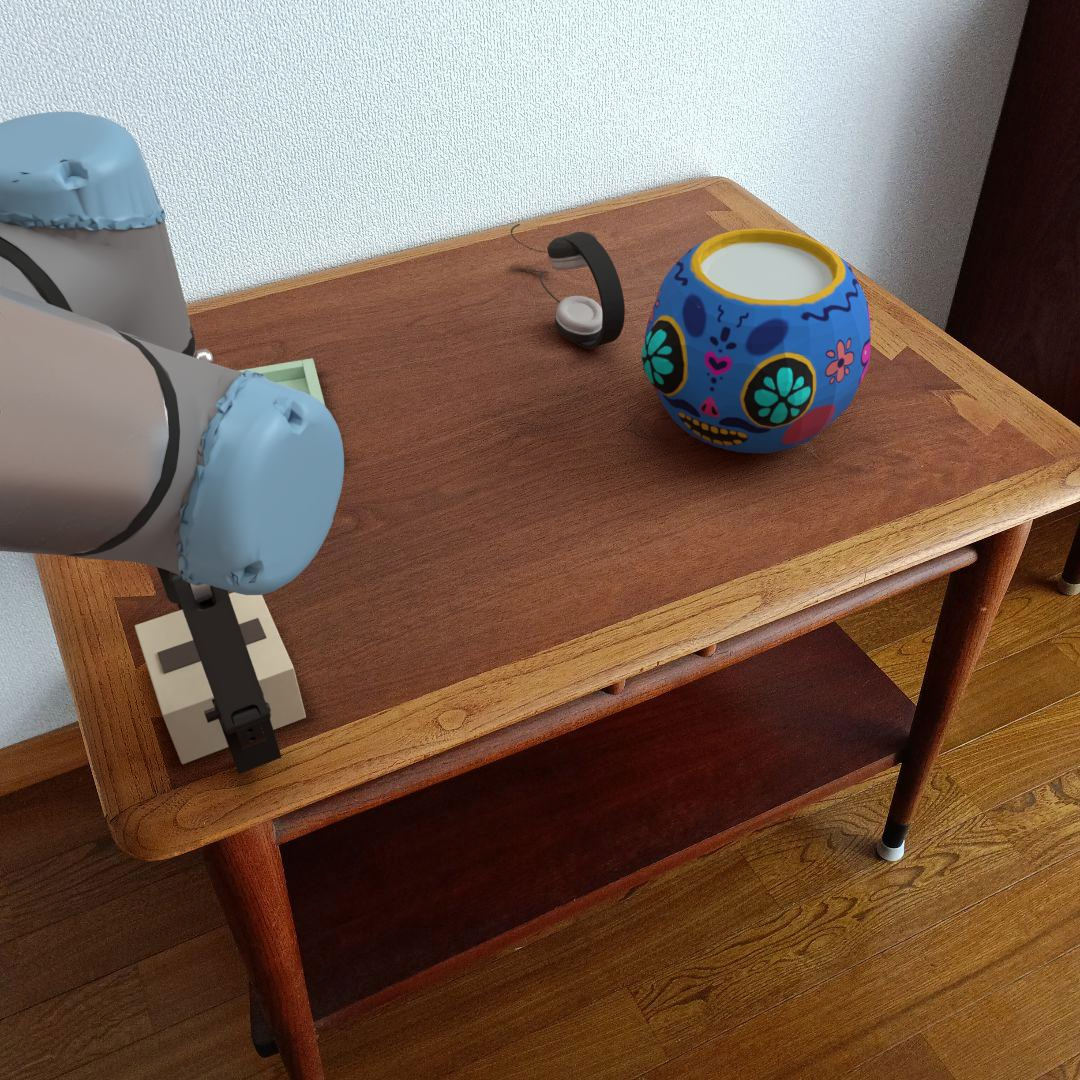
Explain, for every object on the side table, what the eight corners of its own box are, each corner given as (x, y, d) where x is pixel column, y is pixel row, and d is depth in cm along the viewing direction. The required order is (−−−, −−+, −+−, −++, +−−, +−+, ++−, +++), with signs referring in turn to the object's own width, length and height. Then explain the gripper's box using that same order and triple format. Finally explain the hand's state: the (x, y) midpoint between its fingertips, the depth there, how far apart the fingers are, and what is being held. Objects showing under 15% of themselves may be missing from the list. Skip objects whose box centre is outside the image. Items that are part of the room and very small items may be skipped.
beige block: (306, 718, 71) (293, 666, 67) (182, 765, 68) (161, 713, 65) (270, 634, 76) (256, 582, 73) (153, 675, 74) (133, 623, 70)
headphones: (536, 290, 114) (639, 354, 98) (498, 302, 112) (597, 368, 97) (525, 194, 108) (632, 246, 93) (485, 204, 107) (587, 259, 91)
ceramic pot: (601, 449, 91) (607, 288, 80) (692, 343, 102) (708, 189, 91) (804, 521, 84) (839, 355, 74) (878, 400, 95) (918, 241, 85)
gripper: (284, 553, 50) (348, 809, 65) (160, 292, 66) (234, 544, 81) (116, 610, 48) (222, 861, 63) (30, 324, 64) (130, 578, 79)
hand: (229, 683), depth 72 cm, fingers open, 13 cm apart
